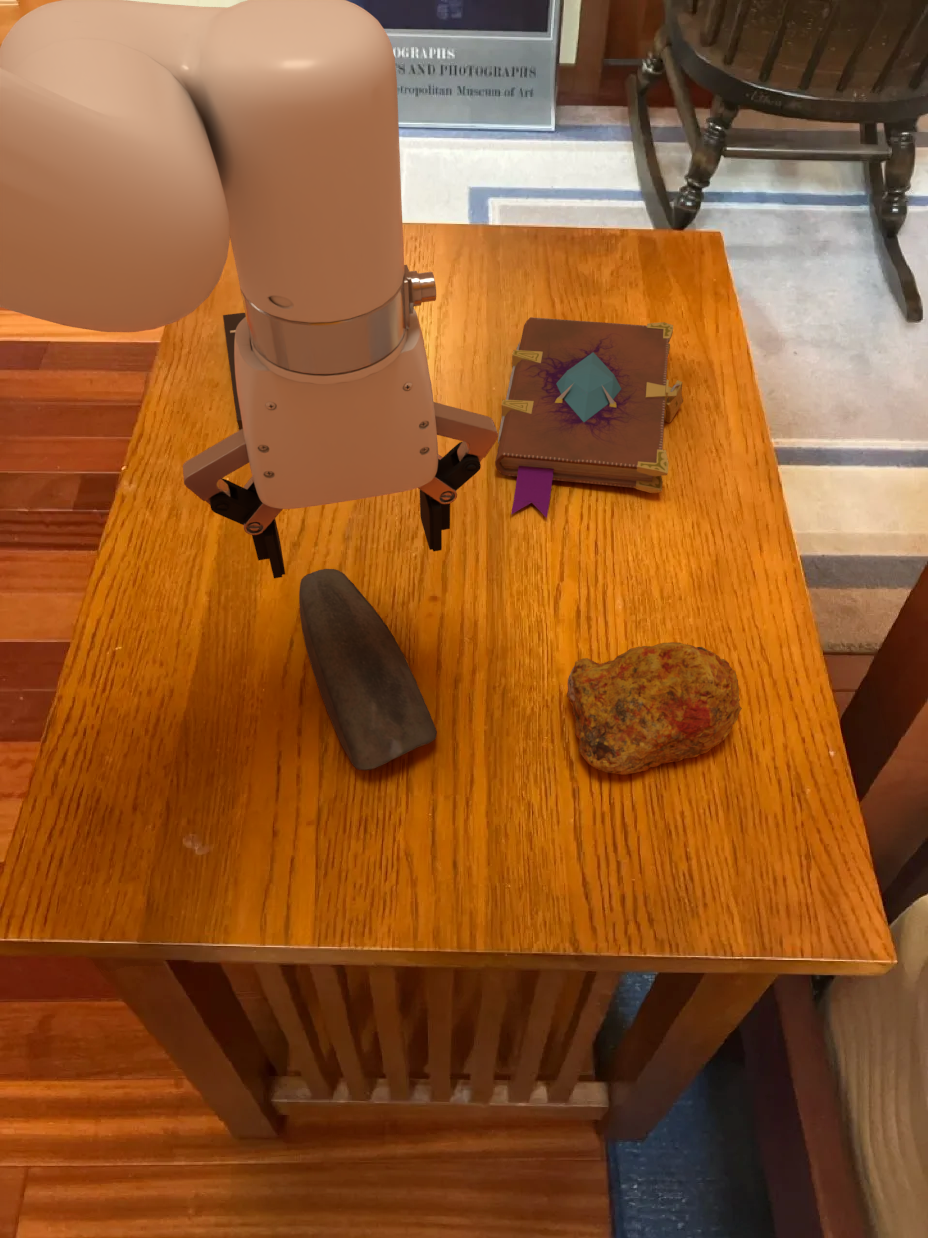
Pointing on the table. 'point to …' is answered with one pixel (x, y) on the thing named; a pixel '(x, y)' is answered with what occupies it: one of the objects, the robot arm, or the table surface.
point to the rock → (652, 706)
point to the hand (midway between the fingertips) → (354, 547)
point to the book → (586, 407)
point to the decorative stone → (361, 673)
